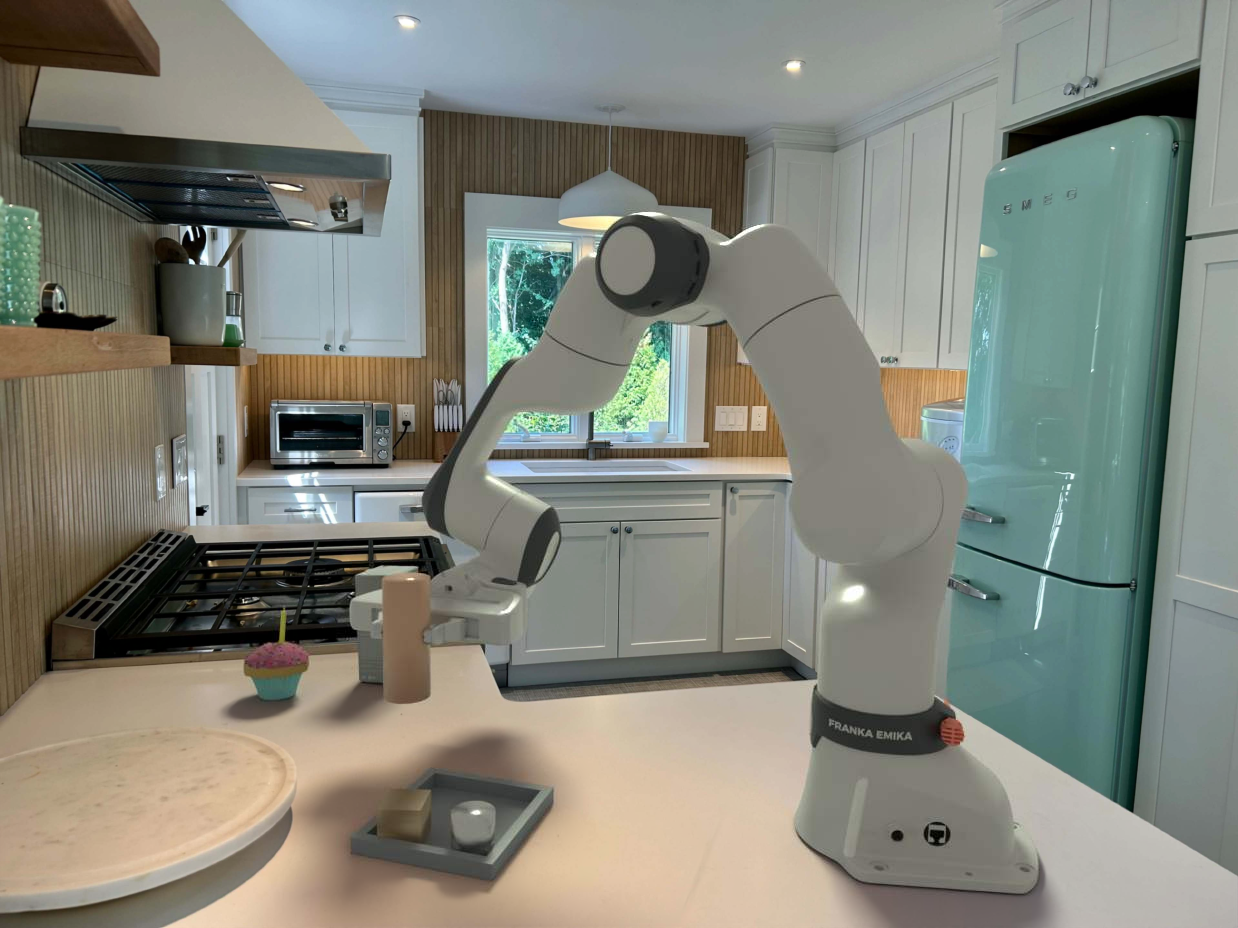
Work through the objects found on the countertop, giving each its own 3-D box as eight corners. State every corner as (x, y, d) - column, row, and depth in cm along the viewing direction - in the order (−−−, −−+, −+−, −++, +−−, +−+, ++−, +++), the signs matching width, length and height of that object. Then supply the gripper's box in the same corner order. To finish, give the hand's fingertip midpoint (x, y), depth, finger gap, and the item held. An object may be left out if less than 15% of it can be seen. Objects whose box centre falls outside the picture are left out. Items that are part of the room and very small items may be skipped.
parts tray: (553, 810, 91) (553, 787, 91) (492, 891, 76) (492, 864, 76) (430, 789, 95) (430, 767, 94) (350, 863, 80) (350, 836, 80)
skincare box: (399, 686, 125) (398, 577, 123) (352, 682, 126) (351, 573, 125) (424, 667, 133) (423, 564, 132) (380, 663, 135) (379, 561, 133)
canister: (439, 690, 98) (438, 574, 96) (416, 706, 93) (415, 585, 91) (398, 684, 99) (397, 571, 98) (374, 700, 94) (372, 580, 93)
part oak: (431, 829, 85) (431, 789, 84) (420, 852, 81) (420, 810, 80) (389, 828, 85) (389, 788, 84) (377, 850, 81) (376, 808, 80)
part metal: (502, 845, 82) (502, 804, 82) (483, 868, 78) (483, 825, 78) (463, 838, 83) (463, 797, 83) (442, 860, 79) (442, 818, 79)
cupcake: (265, 681, 126) (264, 599, 125) (322, 685, 125) (321, 602, 124) (231, 703, 117) (229, 615, 116) (291, 708, 116) (289, 619, 115)
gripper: (385, 571, 110) (318, 597, 97) (538, 584, 104) (488, 614, 91) (386, 620, 111) (319, 653, 98) (538, 636, 105) (488, 673, 92)
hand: (402, 634), depth 94 cm, fingers closed on canister, 5 cm apart
